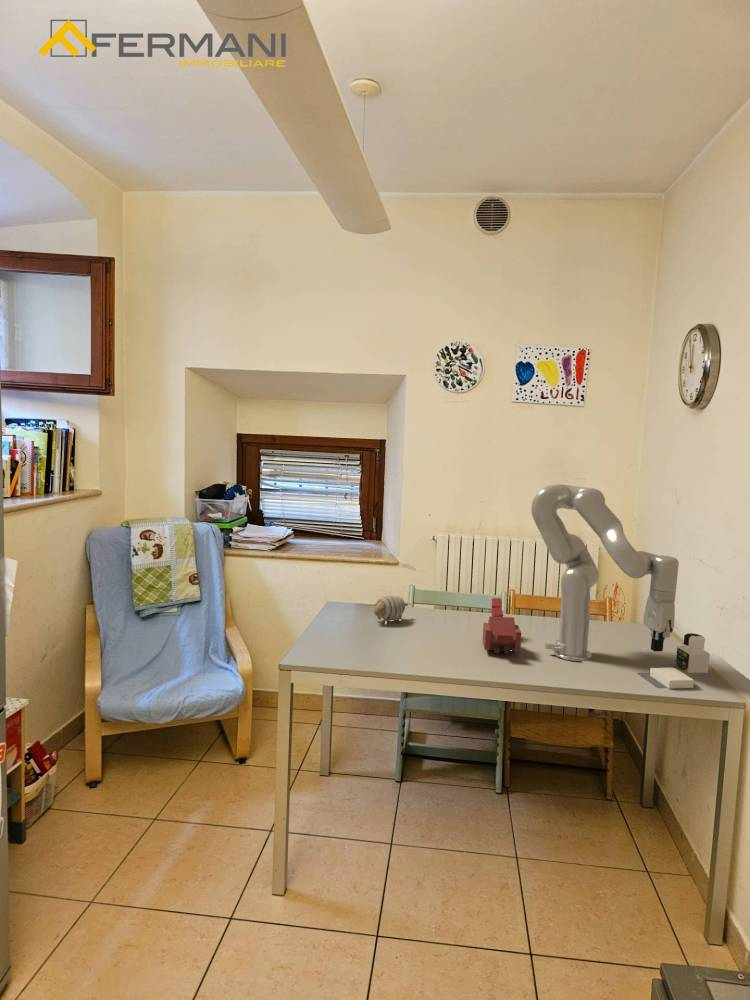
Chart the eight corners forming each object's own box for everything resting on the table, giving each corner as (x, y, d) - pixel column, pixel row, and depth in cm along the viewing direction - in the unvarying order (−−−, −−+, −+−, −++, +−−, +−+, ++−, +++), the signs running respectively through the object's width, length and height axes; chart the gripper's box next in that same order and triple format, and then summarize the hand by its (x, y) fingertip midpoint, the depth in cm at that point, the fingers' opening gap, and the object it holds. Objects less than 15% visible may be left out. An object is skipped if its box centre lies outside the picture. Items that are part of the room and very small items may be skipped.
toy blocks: (515, 667, 222) (510, 605, 237) (524, 641, 206) (517, 576, 222) (481, 666, 223) (477, 604, 238) (487, 640, 207) (483, 575, 222)
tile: (649, 676, 198) (668, 689, 188) (650, 668, 197) (669, 680, 188) (673, 675, 199) (693, 688, 189) (673, 667, 199) (694, 679, 189)
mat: (657, 690, 188) (657, 688, 188) (635, 674, 200) (636, 672, 200) (700, 688, 190) (700, 687, 190) (676, 673, 202) (676, 671, 202)
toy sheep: (365, 622, 245) (366, 595, 244) (395, 614, 257) (396, 588, 256) (385, 629, 238) (386, 600, 237) (414, 620, 250) (415, 593, 249)
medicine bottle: (675, 666, 209) (678, 631, 208) (695, 666, 209) (698, 631, 208) (687, 674, 202) (690, 638, 201) (708, 674, 202) (711, 638, 201)
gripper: (638, 588, 205) (633, 642, 208) (664, 601, 191) (658, 659, 193) (659, 588, 206) (654, 642, 209) (687, 601, 192) (681, 659, 194)
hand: (656, 650), depth 201 cm, fingers closed
